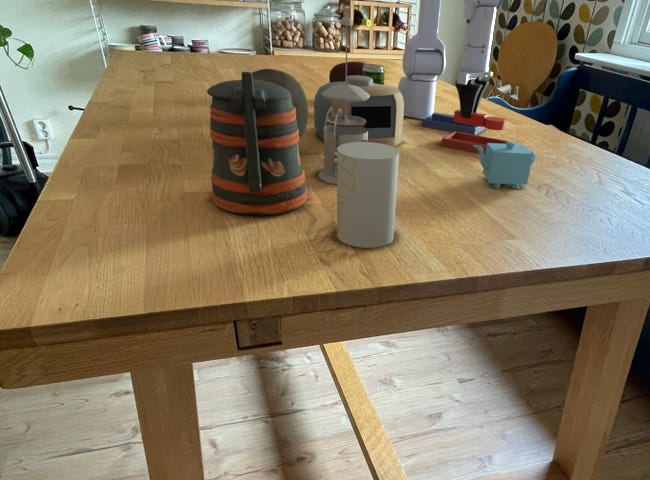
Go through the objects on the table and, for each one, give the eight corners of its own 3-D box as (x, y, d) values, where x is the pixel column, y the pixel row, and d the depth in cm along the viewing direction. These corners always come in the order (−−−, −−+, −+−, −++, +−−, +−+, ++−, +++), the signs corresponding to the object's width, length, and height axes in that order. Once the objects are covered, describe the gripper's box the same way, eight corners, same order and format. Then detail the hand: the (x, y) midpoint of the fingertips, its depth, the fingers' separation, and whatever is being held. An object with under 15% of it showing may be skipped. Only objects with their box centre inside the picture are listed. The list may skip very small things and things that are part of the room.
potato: (334, 97, 159) (333, 56, 153) (379, 101, 158) (380, 61, 152) (324, 104, 150) (323, 61, 144) (372, 109, 149) (373, 66, 143)
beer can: (386, 120, 140) (389, 67, 133) (369, 122, 137) (371, 68, 130) (373, 115, 143) (375, 63, 136) (356, 117, 140) (358, 64, 133)
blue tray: (421, 125, 137) (422, 119, 136) (433, 120, 143) (434, 113, 142) (474, 135, 133) (475, 128, 132) (484, 129, 139) (485, 122, 138)
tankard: (318, 227, 81) (315, 76, 69) (213, 232, 77) (191, 73, 65) (300, 184, 95) (296, 54, 84) (212, 186, 92) (194, 50, 80)
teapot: (470, 187, 101) (476, 144, 96) (464, 176, 106) (470, 135, 101) (533, 190, 102) (542, 148, 97) (525, 179, 107) (533, 139, 102)
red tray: (441, 145, 123) (442, 138, 122) (454, 138, 129) (454, 131, 128) (501, 157, 119) (502, 149, 118) (511, 149, 125) (512, 141, 124)
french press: (379, 173, 104) (386, 17, 89) (355, 191, 95) (359, 21, 80) (332, 164, 106) (331, 11, 91) (304, 181, 97) (298, 15, 82)
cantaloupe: (223, 151, 108) (213, 66, 100) (281, 141, 117) (277, 62, 108) (266, 169, 101) (260, 79, 92) (325, 157, 110) (324, 73, 101)
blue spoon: (429, 123, 138) (430, 114, 137) (436, 120, 141) (436, 111, 140) (472, 131, 134) (473, 121, 133) (478, 128, 138) (479, 118, 136)
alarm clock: (331, 151, 114) (331, 86, 107) (304, 127, 128) (302, 69, 121) (414, 147, 121) (419, 86, 114) (380, 124, 135) (382, 69, 128)
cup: (337, 224, 82) (337, 140, 75) (391, 225, 83) (396, 143, 76) (336, 246, 76) (337, 157, 69) (395, 248, 77) (401, 160, 70)
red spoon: (451, 122, 121) (452, 111, 120) (458, 119, 125) (459, 108, 123) (500, 131, 118) (502, 120, 117) (506, 127, 121) (508, 116, 120)
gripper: (484, 51, 107) (474, 125, 115) (505, 45, 118) (495, 113, 126) (450, 46, 109) (442, 119, 117) (474, 41, 120) (466, 108, 128)
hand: (467, 116), depth 121 cm, fingers closed on red spoon, 2 cm apart
